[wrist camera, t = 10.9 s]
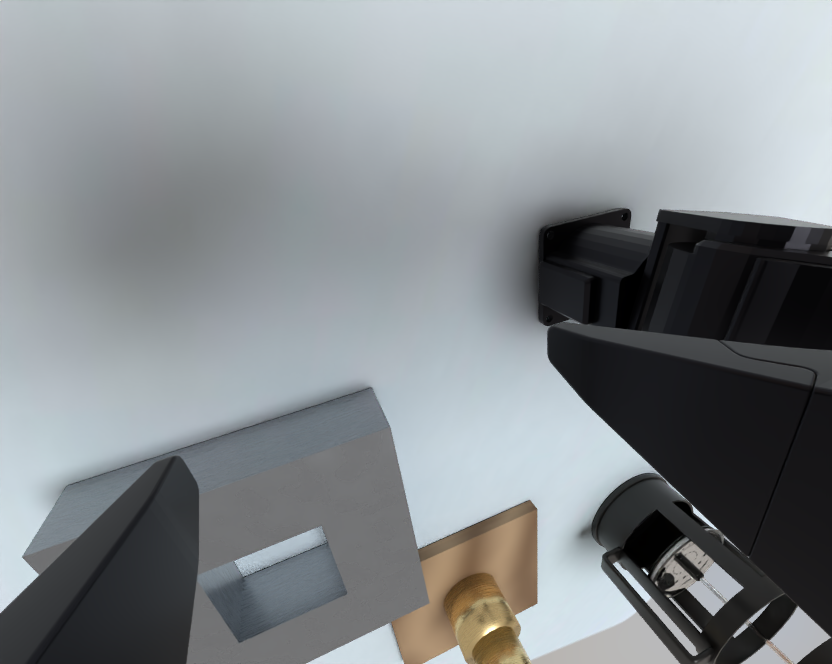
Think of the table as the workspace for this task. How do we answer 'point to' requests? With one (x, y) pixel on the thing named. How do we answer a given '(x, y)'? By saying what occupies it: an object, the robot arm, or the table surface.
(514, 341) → the table surface
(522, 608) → the board
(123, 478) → the plate
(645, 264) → the robot arm
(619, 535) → the french press
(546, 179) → the table surface
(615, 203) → the table surface
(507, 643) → the knob
